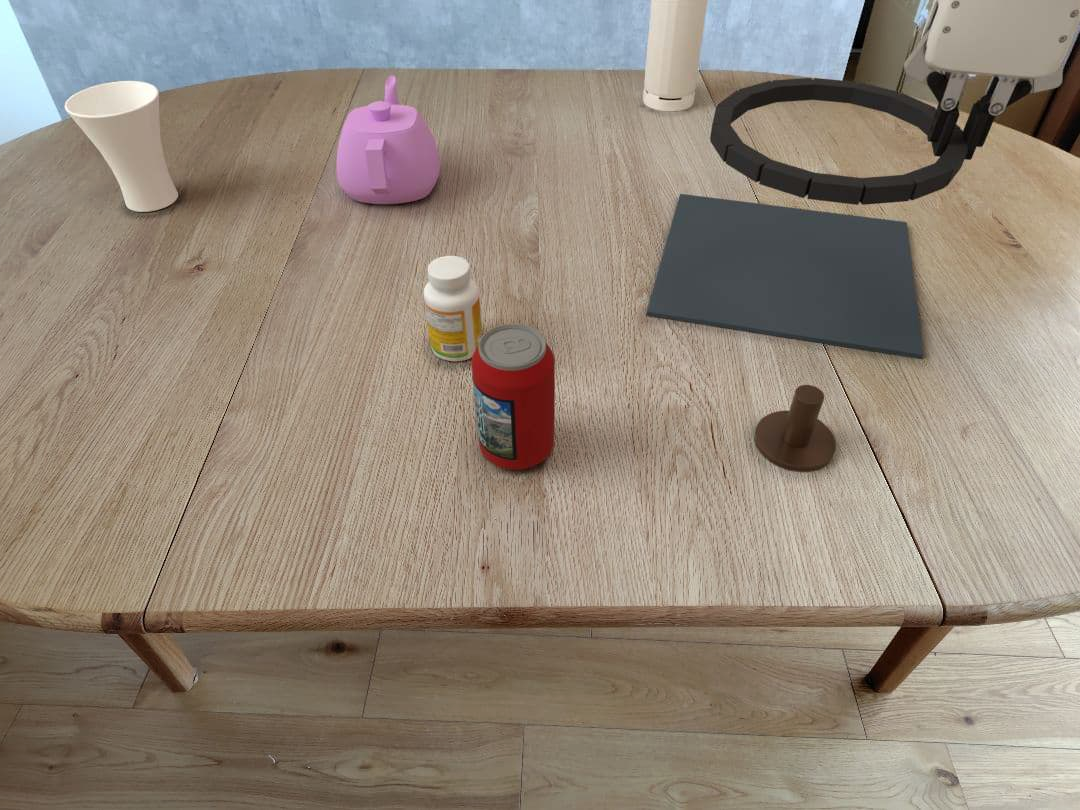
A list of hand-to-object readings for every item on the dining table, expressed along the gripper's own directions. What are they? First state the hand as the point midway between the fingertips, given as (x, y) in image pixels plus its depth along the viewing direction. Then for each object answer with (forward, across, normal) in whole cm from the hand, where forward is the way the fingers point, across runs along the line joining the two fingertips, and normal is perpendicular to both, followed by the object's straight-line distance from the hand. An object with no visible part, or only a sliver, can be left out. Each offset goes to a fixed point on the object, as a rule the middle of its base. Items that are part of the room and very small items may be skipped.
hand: (950, 149), depth 68 cm
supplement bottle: (+20, +43, +14) cm, 49 cm away
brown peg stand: (+19, +9, +20) cm, 29 cm away
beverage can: (+20, +33, +27) cm, 47 cm away
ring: (+1, +10, 0) cm, 10 cm away
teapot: (+20, +62, -16) cm, 67 cm away
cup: (+20, +91, -4) cm, 94 cm away
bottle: (+20, +30, -51) cm, 63 cm away
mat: (+20, +10, -8) cm, 24 cm away
